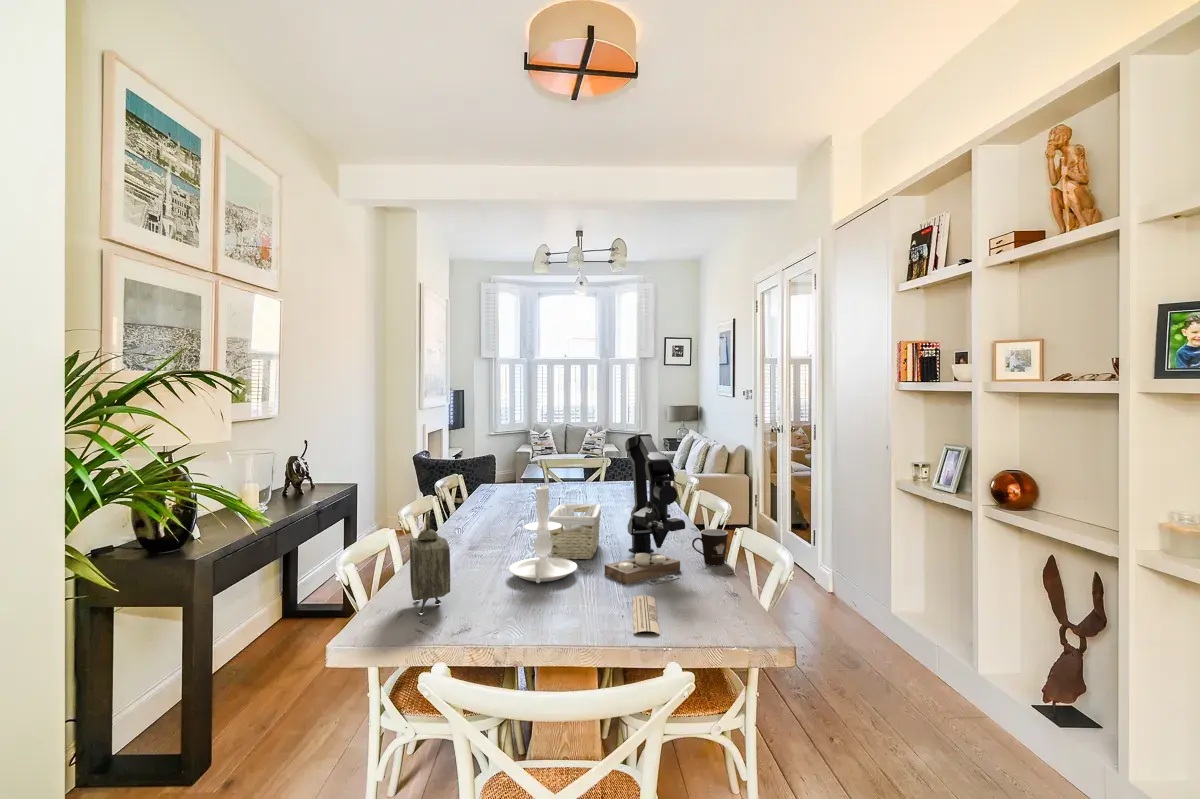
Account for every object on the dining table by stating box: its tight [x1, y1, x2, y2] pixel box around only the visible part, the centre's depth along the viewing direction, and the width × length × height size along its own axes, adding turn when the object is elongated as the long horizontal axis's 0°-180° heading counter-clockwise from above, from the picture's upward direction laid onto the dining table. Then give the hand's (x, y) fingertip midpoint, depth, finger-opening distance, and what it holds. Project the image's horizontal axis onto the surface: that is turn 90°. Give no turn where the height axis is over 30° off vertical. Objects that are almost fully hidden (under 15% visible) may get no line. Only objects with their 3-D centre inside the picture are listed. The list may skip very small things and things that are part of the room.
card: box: [644, 574, 680, 586], centre depth 179 cm, size 4×10×1 cm, turn 125°
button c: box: [652, 554, 667, 563], centre depth 190 cm, size 4×4×3 cm
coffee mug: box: [691, 528, 729, 567], centre depth 196 cm, size 12×9×10 cm
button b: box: [634, 553, 651, 567], centre depth 186 cm, size 4×4×3 cm
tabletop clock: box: [409, 511, 451, 614], centre depth 158 cm, size 14×9×25 cm, turn 21°
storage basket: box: [548, 503, 602, 560], centre depth 211 cm, size 24×16×15 cm
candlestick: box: [508, 485, 578, 584], centre depth 180 cm, size 21×25×28 cm
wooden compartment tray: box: [604, 552, 681, 585], centre depth 186 cm, size 11×21×3 cm, turn 125°
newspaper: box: [631, 595, 661, 636], centre depth 151 cm, size 24×7×2 cm, turn 178°
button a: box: [619, 562, 633, 571], centre depth 182 cm, size 4×4×3 cm
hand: (658, 547), depth 190 cm, fingers closed
